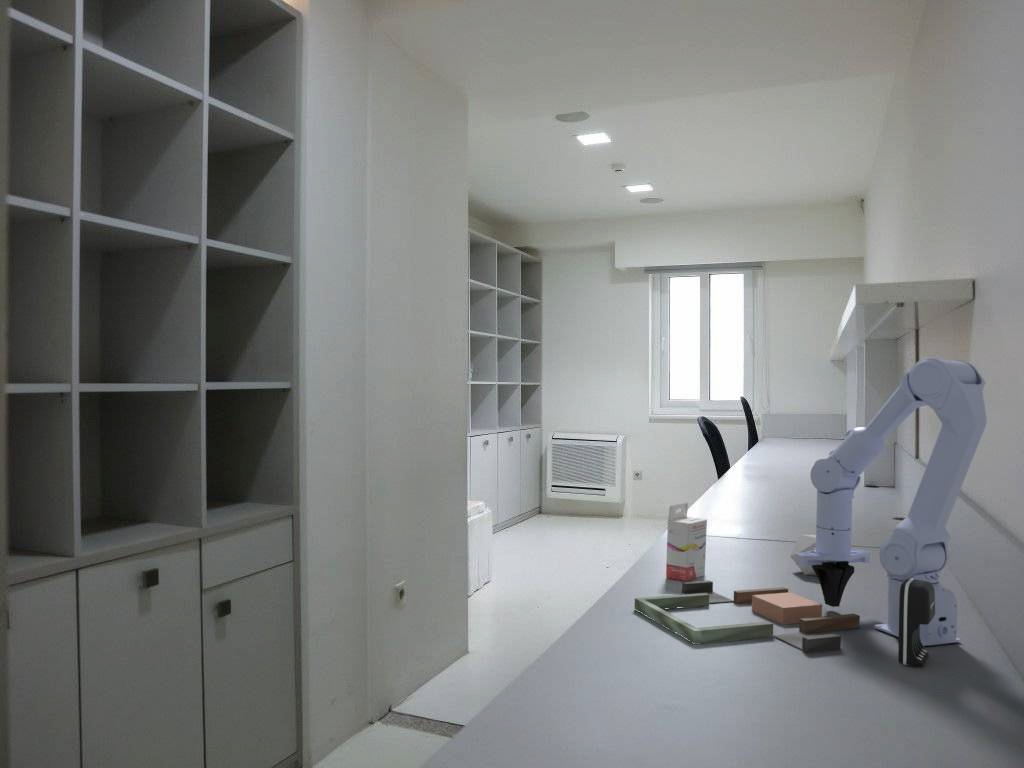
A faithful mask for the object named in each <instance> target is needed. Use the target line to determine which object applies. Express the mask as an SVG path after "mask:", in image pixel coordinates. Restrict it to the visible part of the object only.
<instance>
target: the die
mask: <svg viewBox="0 0 1024 768" xmlns="http://www.w3.org/2000/svg"><path fill="white" fill-rule="evenodd" d="M814 548H816V534H802V533H800V534H799V535H798V539H797V540H796V542H795V545H794V547H793V549H792V552H791V554H790V558H791V559H792V560H793V562H794V563H795V564H796V553H804V552H808V551H813V550H814ZM797 567H798V568H799V569H800V571H801V572H802V573H803V575H805V576H817V575H816V573H815V571H814V570H813V568H812V565H808V566H807V567H802V566H799V565H797Z"/></svg>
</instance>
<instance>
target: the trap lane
mask: <svg viewBox="0 0 1024 768" xmlns="http://www.w3.org/2000/svg"><path fill="white" fill-rule="evenodd" d="M788 592H789V588H787V587H784V586H783V587H768V588H756V589H740V590H733V599H730V598H728V597H726V596H723V595H722V594H719V593H716V592H715V591H714V581H711V580H698V581H687V582H686V581H682V582H681V594H674V595H673V594H672V595H671V594H670V595H660V596H648V597H635V598H634V609H636V610H638V611H640V612H642V613H643V614H645V615H647V616H648V617H650V618H652V619H654V620H655V621H657V622H659V623H660V624H662V625H664V626H665V627H667V628H669V629H670V630H672V631H674V632H677V633H678V634H680V635H682V636H683V637H685V638H687V639H688V640H690V641H691V642H693V643H704V644H711V643H710V642H714V643H722V642H723V641H724V642H732V641H733V642H734V641H742V640H744V641H745V640H753V639H762V638H763V639H764V638H775V639H777V640H779V641H782V642H784V643H785V644H788V645H789V646H792V647H794V648H796V649H798V650H800V651H803V652H804V653H806V654H813V653H820V652H821V653H822V652H830V651H831V652H832V651H840V650H841V647H842V635H839V634H837V633H828V634H819V635H818V634H817V635H811V634H813V633H822V632H823V633H824V632H832V631H841V630H854V629H860V625H861V624H860V622H861V620H860V618H861V616H860V615H858V614H856V613H845V614H835V615H825V616H823V615H822V617H812V618H801V619H800V621H799V624H798V625H799V627H798V628H799V632H795V633H782V634H774V623H772V622H770V621H759V622H747V623H738V624H737V623H736V624H728V625H726V624H725V625H724V624H723V625H715V626H705V627H704V626H703V627H696V626H695V625H692V624H691V623H688V622H687V621H684V620H683V619H681V618H680V617H678V616H676V615H674V614H672V613H671V612H668V611H666V610H663V609H665V608H677V607H691V608H701V607H700V606H703V607H709V606H710V605H713V604H726V603H734V604H738V605H739V604H750V603H751V604H752V595H762V594H775V593H788ZM683 593H684V594H683ZM698 606H699V607H698ZM636 610H635V611H636ZM643 614H642V615H643ZM648 617H647V618H648ZM655 621H654V622H655ZM660 624H659V625H660ZM662 625H661V626H662ZM665 627H664V628H665ZM667 628H666V629H667ZM670 630H669V631H670ZM672 631H671V632H672ZM674 632H673V633H674ZM691 642H690V643H691ZM693 643H692V644H693Z"/></svg>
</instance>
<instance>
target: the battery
mask: <svg viewBox="0 0 1024 768" xmlns="http://www.w3.org/2000/svg"><path fill="white" fill-rule="evenodd" d="M934 615H935V590H934V587H933V585H932V584H931V583H930V582H928V581H923V580H917V579H914V578H911V579H910V578H908V579H906V580H905V581H904V582H903V583H902V584H901V587H900V597H899V637H898V652H897V653H898V658H897V660H898V663H899V664H902V665H903V666H911V667H917V668H922V667H924V666H925V664H926V663H927V661H928V659H929V657H930V653H929V652H928V651H927V650H926V648H925V646H923V645H922V643H921V639H920V624H923V625H928V624H929V623H930V622H931V620H932V619H933V617H934Z"/></svg>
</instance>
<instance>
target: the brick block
mask: <svg viewBox="0 0 1024 768" xmlns="http://www.w3.org/2000/svg"><path fill="white" fill-rule="evenodd" d="M751 611H752V612H755V613H757V614H759V615H761V616H763V617H766V618H768V619H770V620H773V621H775V622H777V623H779V624H782V625H788V624H798V623H799V621H800V619H801V618H812V617H823V604H821V603H819V602H816V601H814V600H811V599H809V598H805V597H803V596H800V595H798V594H794V593H792V592H789V591H788V593H775V594H762V595H752V603H751Z"/></svg>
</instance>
